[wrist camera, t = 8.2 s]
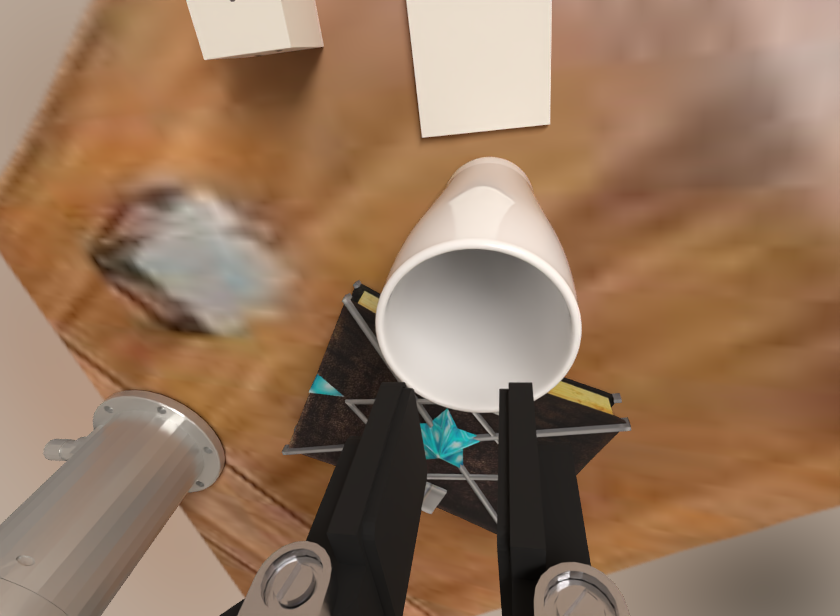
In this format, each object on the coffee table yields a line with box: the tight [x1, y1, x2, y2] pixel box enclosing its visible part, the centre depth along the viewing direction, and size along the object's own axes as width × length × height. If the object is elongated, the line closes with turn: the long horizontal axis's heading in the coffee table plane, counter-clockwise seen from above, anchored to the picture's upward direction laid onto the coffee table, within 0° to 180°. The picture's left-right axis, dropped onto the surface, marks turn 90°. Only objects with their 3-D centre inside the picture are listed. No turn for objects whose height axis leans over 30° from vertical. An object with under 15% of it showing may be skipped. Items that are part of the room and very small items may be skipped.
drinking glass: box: [375, 157, 582, 413], centre depth 21 cm, size 7×7×15 cm
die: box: [186, 0, 324, 60], centre depth 22 cm, size 4×4×5 cm
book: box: [282, 280, 631, 534], centre depth 35 cm, size 22×17×5 cm
